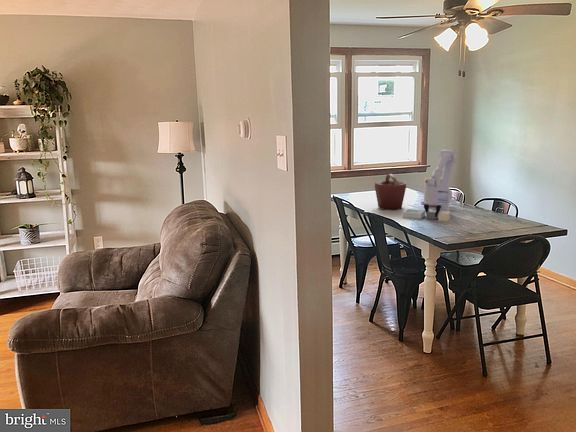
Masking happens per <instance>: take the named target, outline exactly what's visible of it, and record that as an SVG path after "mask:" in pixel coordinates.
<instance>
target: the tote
mask: <svg viewBox="0 0 576 432" xmlns="http://www.w3.org/2000/svg"><path fill="white" fill-rule="evenodd" d="M425 217H426V211H425V209H414V208H407V209H404V210H403V211H402V218H404V219H413V218H416V219H415V220H422V219H423V218H425Z"/></svg>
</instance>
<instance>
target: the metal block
mask: <svg viewBox="0 0 576 432" xmlns="http://www.w3.org/2000/svg"><path fill="white" fill-rule="evenodd" d="M425 217H426V218H425V219H426V220H430V221H431V220H432V221H436V219H439V216H438V217H436V209H429V210H428V211H427V214H426V213H425Z"/></svg>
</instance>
